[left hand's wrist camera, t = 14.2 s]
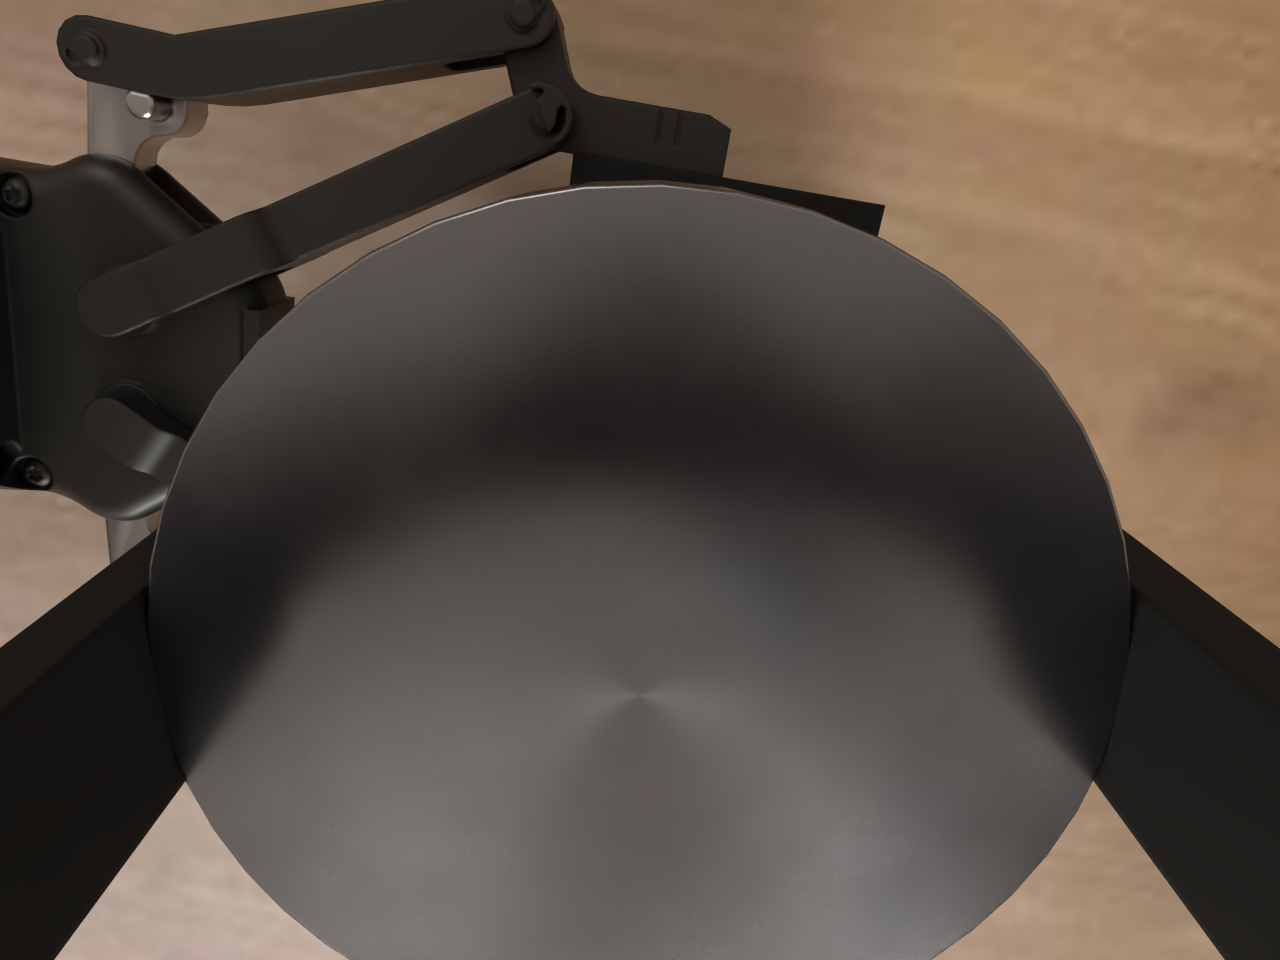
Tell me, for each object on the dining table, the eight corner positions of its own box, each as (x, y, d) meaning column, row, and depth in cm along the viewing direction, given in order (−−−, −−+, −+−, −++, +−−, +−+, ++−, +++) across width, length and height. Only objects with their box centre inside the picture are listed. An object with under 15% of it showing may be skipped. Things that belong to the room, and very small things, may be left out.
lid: (377, 988, 14) (341, 1100, 13) (71, 303, 11) (-40, 330, 9) (1083, 867, 14) (1147, 969, 12) (1029, 71, 10) (1113, 51, 8)
